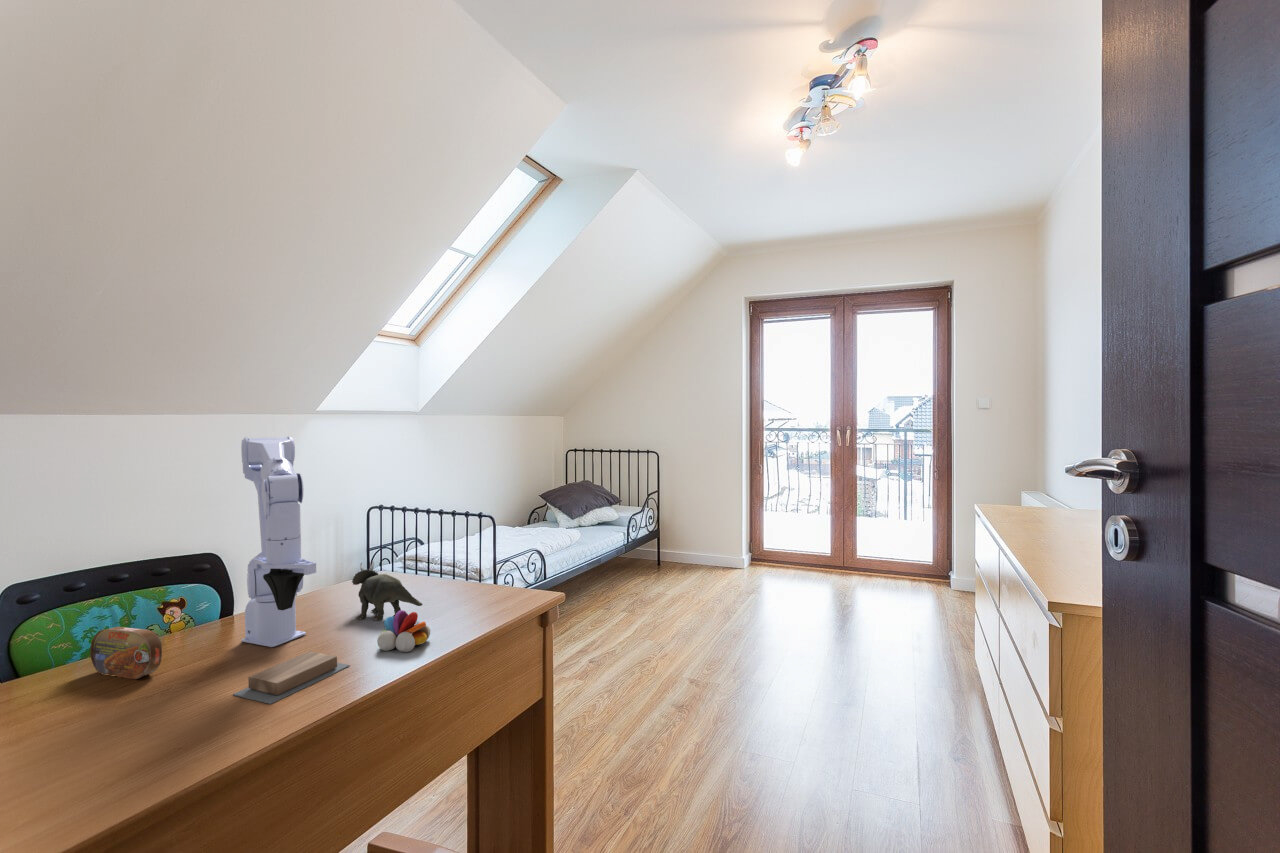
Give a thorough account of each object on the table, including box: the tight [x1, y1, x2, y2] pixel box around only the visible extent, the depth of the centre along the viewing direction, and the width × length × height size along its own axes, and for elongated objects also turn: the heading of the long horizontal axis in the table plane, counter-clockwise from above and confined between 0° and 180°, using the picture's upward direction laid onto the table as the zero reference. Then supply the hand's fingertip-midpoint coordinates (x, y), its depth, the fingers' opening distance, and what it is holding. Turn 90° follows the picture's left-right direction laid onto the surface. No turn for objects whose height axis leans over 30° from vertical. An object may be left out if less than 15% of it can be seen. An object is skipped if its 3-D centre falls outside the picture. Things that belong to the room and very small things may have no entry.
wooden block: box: [247, 650, 338, 695], centre depth 108 cm, size 2×12×7 cm
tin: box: [89, 626, 163, 680], centre depth 111 cm, size 15×3×8 cm, turn 74°
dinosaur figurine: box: [351, 560, 424, 621], centre depth 142 cm, size 22×8×11 cm, turn 58°
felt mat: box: [232, 662, 351, 705], centre depth 108 cm, size 9×16×1 cm, turn 158°
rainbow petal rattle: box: [376, 609, 431, 653], centre depth 124 cm, size 8×10×7 cm
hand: (285, 608), depth 116 cm, fingers closed
